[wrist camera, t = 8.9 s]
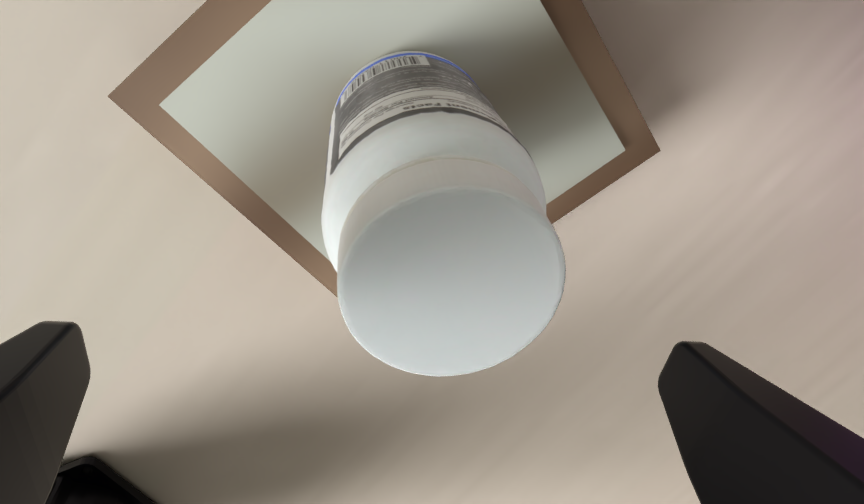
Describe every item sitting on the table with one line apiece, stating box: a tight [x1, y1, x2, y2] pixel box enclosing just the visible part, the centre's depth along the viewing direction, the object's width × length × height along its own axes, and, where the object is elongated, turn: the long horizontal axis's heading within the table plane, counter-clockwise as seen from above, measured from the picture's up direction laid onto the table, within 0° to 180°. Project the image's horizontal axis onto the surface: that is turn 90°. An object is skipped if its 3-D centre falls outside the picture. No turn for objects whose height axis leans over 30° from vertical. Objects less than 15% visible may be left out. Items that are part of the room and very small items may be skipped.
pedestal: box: [108, 0, 660, 297], centre depth 18 cm, size 12×12×3 cm
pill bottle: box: [321, 51, 566, 376], centre depth 13 cm, size 5×5×8 cm
